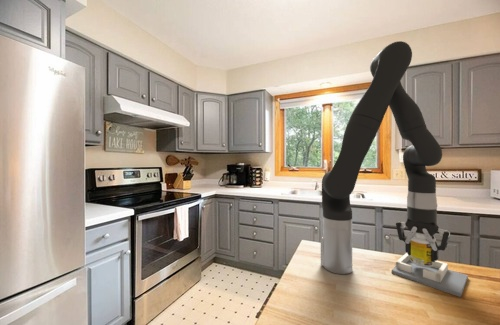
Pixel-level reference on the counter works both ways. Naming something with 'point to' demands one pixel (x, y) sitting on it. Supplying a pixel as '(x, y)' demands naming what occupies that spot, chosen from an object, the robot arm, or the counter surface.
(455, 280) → the grey board with frame
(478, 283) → the counter surface
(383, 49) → the robot arm
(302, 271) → the counter surface
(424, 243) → the supplement bottle
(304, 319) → the counter surface
